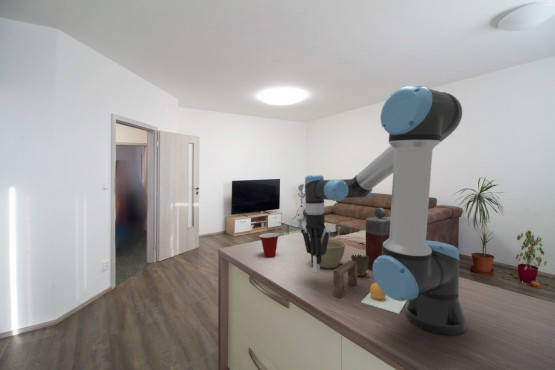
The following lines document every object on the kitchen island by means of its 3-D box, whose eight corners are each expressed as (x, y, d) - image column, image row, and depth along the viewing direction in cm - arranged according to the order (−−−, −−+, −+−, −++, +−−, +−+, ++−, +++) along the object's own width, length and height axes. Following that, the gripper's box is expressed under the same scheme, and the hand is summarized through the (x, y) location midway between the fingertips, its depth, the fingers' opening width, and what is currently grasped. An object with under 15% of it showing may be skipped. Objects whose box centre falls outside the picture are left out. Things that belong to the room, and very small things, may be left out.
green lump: (370, 279, 105) (370, 260, 105) (352, 277, 107) (352, 259, 107) (368, 272, 113) (367, 254, 112) (350, 271, 114) (350, 253, 114)
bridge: (357, 284, 101) (357, 261, 100) (341, 298, 89) (341, 272, 89) (350, 282, 103) (349, 259, 102) (333, 296, 91) (333, 270, 91)
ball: (370, 280, 93) (374, 295, 92) (365, 285, 88) (369, 301, 88) (386, 280, 90) (390, 296, 89) (381, 285, 85) (386, 302, 85)
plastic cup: (267, 251, 146) (267, 231, 145) (283, 255, 139) (283, 233, 139) (255, 256, 137) (255, 234, 137) (271, 260, 131) (271, 237, 130)
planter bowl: (344, 272, 113) (343, 248, 112) (308, 269, 118) (307, 245, 117) (346, 261, 128) (346, 239, 127) (314, 258, 133) (314, 237, 133)
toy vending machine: (398, 269, 116) (398, 207, 115) (382, 274, 110) (382, 209, 109) (381, 263, 123) (380, 206, 122) (365, 268, 118) (365, 207, 117)
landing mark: (408, 299, 88) (408, 298, 88) (399, 314, 79) (399, 313, 79) (372, 289, 96) (372, 289, 96) (360, 302, 86) (360, 301, 86)
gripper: (334, 213, 102) (335, 271, 102) (306, 211, 110) (307, 265, 110) (324, 215, 96) (326, 277, 96) (296, 213, 104) (298, 270, 105)
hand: (316, 271), depth 103 cm, fingers closed
